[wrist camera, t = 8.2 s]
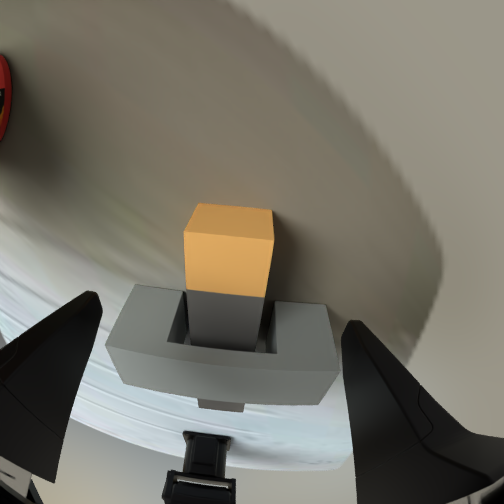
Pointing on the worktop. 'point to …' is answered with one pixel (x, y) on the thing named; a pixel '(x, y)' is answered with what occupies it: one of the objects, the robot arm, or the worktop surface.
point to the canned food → (4, 94)
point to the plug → (227, 279)
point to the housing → (223, 354)
